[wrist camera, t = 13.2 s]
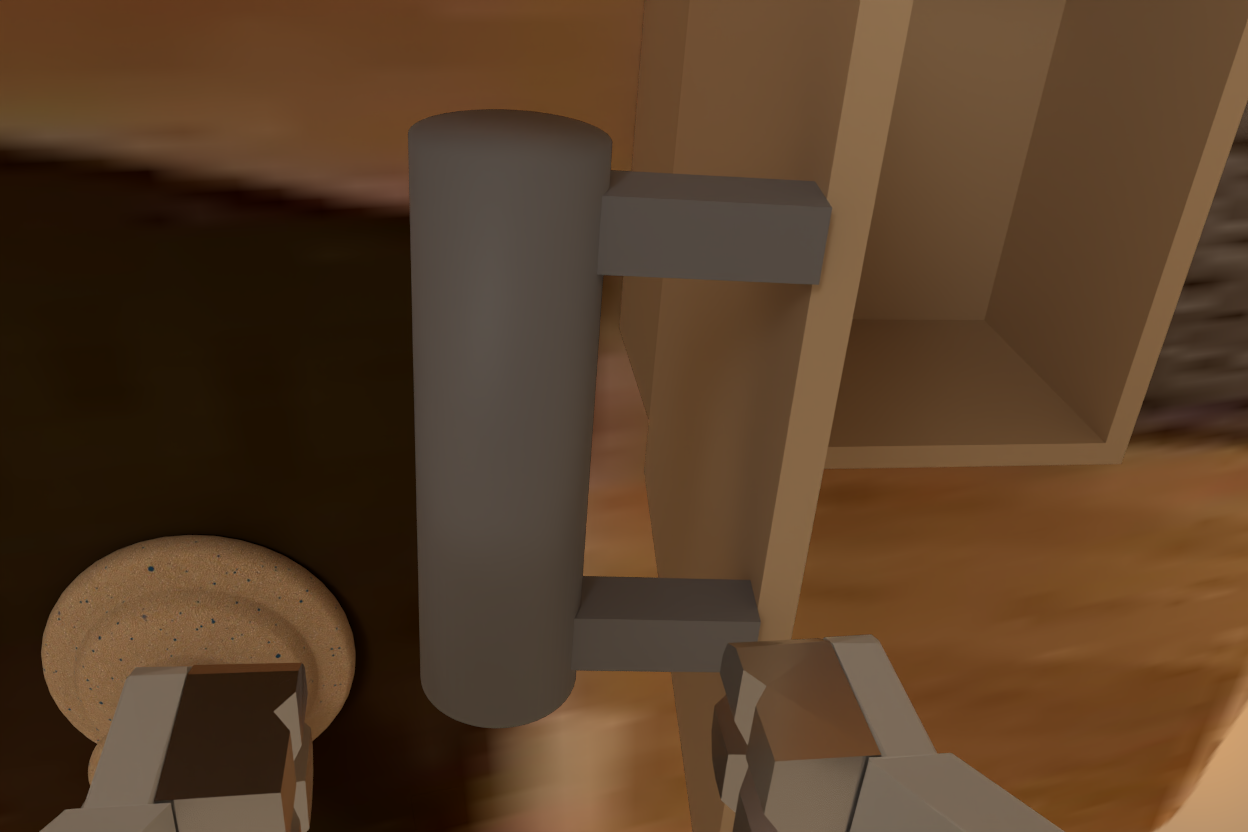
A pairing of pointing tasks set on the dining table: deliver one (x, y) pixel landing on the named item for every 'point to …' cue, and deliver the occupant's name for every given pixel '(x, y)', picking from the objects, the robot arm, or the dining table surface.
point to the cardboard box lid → (683, 371)
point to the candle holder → (192, 625)
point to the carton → (1008, 222)
